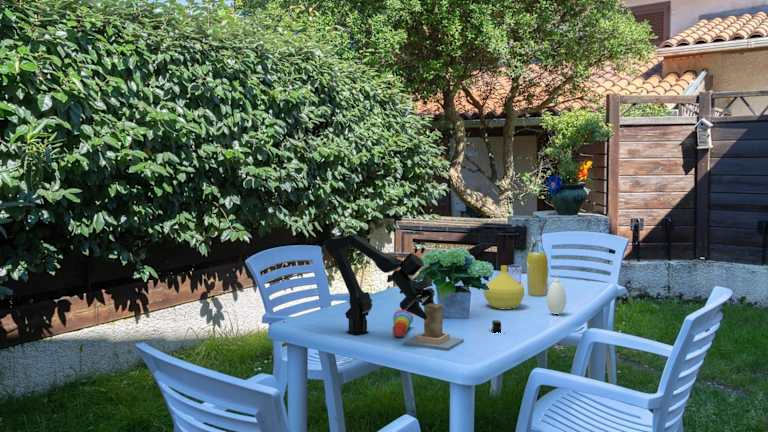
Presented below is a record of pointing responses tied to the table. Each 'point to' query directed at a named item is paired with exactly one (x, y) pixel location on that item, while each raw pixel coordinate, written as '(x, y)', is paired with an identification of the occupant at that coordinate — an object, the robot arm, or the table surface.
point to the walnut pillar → (433, 320)
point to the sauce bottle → (556, 297)
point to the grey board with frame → (434, 342)
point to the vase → (504, 291)
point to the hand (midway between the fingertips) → (432, 316)
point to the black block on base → (496, 326)
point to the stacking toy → (401, 322)
